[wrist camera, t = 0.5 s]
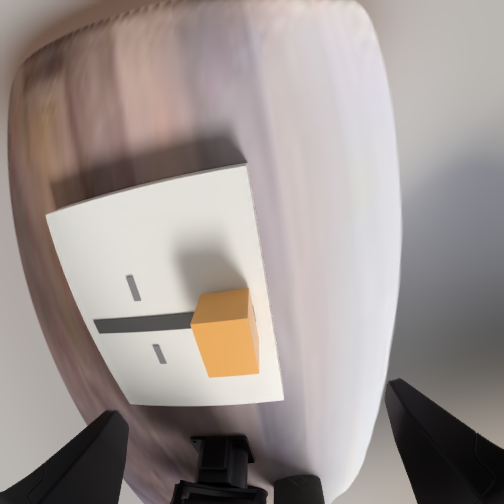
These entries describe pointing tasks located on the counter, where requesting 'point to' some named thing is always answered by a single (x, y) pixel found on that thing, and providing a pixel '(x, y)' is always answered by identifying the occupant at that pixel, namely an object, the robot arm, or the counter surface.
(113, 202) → the fader console
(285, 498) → the travel mug
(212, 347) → the fader knob
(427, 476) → the robot arm
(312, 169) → the counter surface
